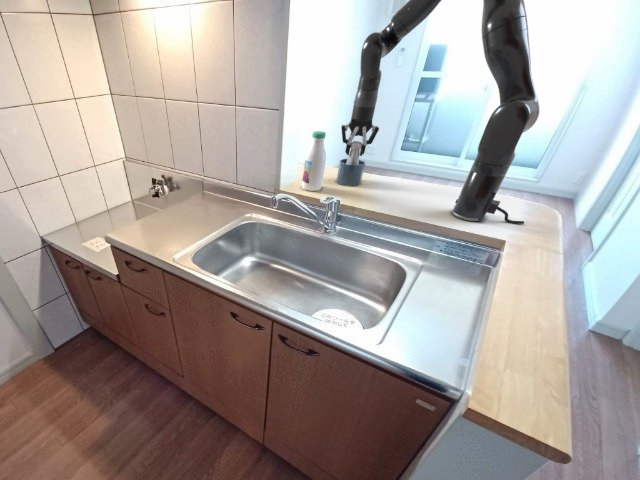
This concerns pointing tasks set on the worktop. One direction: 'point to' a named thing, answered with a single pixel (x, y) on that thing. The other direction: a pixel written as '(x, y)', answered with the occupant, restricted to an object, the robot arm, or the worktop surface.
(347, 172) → the cup
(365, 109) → the robot arm
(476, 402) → the worktop surface
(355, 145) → the salt shaker
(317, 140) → the milk bottle
